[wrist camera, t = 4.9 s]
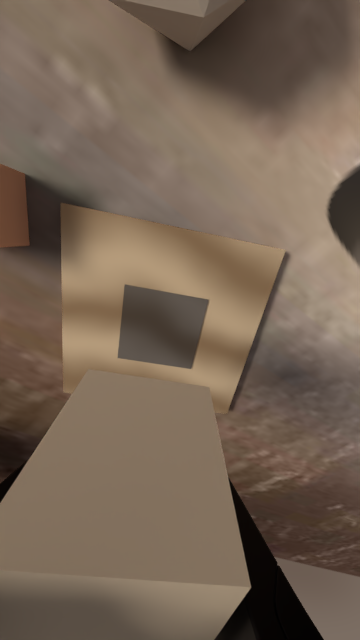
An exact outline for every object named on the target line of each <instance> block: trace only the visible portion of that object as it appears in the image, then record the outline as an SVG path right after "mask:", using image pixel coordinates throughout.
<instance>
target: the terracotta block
mask: <svg viewBox="0 0 360 640" xmlns="http://www.w3.org/2000/svg"><path fill="white" fill-rule="evenodd" d="M16 246H30V243H29V228H28V213H27V199H26V184H25V174H24V173H21V172H19V171H17V170H14V169H12V168H9V167H7V166H4V165H2V164H0V248H2V247H16Z"/></svg>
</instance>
